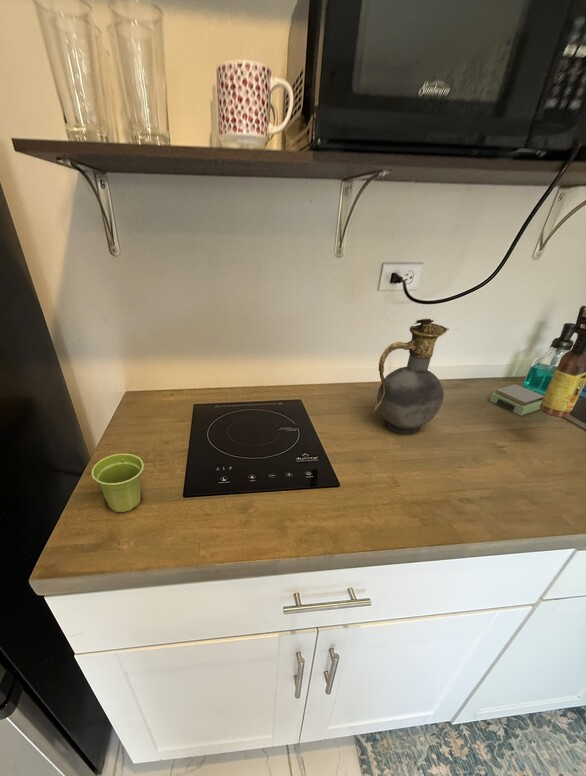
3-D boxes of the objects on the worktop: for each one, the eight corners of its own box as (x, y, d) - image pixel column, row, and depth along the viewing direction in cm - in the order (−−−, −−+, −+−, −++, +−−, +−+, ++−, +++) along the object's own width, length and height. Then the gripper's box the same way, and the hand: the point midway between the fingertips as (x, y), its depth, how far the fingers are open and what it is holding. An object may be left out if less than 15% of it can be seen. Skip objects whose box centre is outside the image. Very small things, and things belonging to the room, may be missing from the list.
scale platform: (514, 387, 121) (515, 384, 121) (543, 399, 114) (545, 396, 114) (495, 392, 118) (496, 389, 117) (524, 405, 111) (525, 402, 110)
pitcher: (439, 433, 103) (475, 321, 87) (376, 445, 98) (403, 327, 81) (413, 414, 111) (442, 308, 95) (355, 423, 106) (374, 313, 90)
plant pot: (151, 485, 82) (146, 451, 78) (146, 516, 75) (140, 481, 70) (105, 488, 81) (97, 454, 76) (96, 521, 73) (86, 485, 69)
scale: (510, 395, 123) (513, 387, 122) (541, 409, 116) (545, 400, 114) (488, 402, 119) (491, 393, 118) (519, 416, 112) (523, 407, 110)
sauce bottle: (568, 421, 89) (610, 337, 78) (536, 413, 92) (573, 331, 81) (570, 410, 93) (610, 329, 83) (540, 402, 97) (575, 323, 86)
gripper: (627, 273, 70) (582, 362, 79) (665, 268, 75) (619, 352, 85) (582, 266, 75) (546, 350, 85) (621, 262, 81) (582, 341, 90)
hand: (583, 351), depth 85 cm, fingers closed on sauce bottle, 4 cm apart
